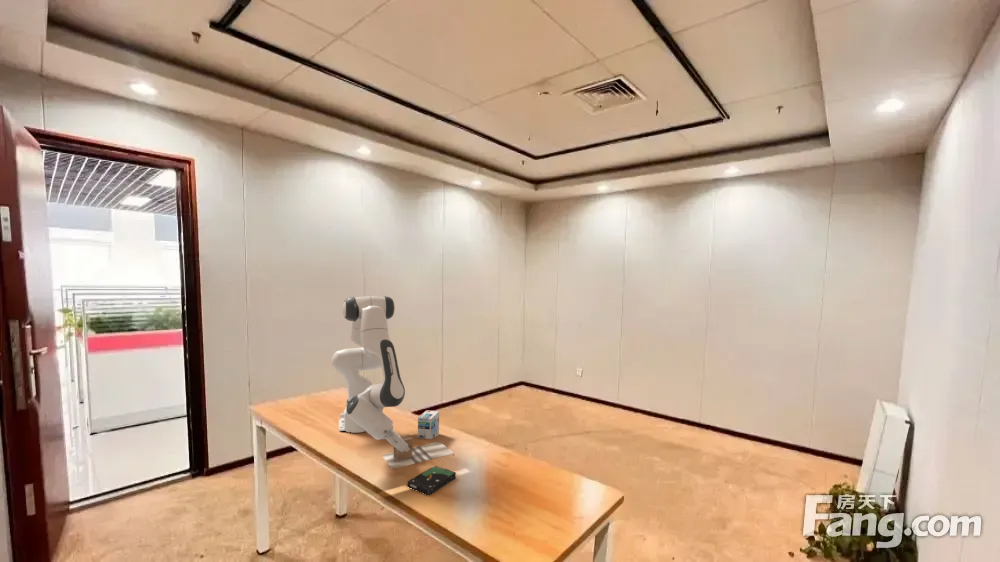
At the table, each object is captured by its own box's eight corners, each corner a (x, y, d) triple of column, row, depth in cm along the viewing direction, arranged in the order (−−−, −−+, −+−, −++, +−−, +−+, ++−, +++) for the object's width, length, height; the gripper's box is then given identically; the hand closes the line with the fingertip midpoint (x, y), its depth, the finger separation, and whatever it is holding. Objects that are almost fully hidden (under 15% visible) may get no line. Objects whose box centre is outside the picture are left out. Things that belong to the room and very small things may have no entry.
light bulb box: (431, 442, 180) (431, 418, 180) (417, 441, 181) (417, 417, 181) (439, 433, 190) (439, 411, 190) (426, 432, 192) (426, 409, 191)
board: (381, 458, 164) (381, 454, 164) (439, 444, 178) (439, 441, 178) (392, 473, 152) (392, 469, 152) (454, 456, 166) (454, 453, 166)
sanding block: (393, 456, 162) (394, 437, 162) (407, 453, 165) (408, 434, 165) (397, 461, 158) (398, 441, 157) (412, 458, 161) (412, 438, 161)
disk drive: (429, 498, 137) (456, 479, 149) (429, 490, 136) (456, 471, 149) (407, 489, 142) (434, 471, 155) (407, 481, 142) (434, 464, 155)
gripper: (395, 429, 149) (420, 449, 154) (379, 412, 166) (401, 431, 171) (383, 443, 146) (409, 464, 152) (368, 425, 163) (391, 444, 169)
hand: (405, 446), depth 162 cm, fingers closed on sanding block, 5 cm apart
